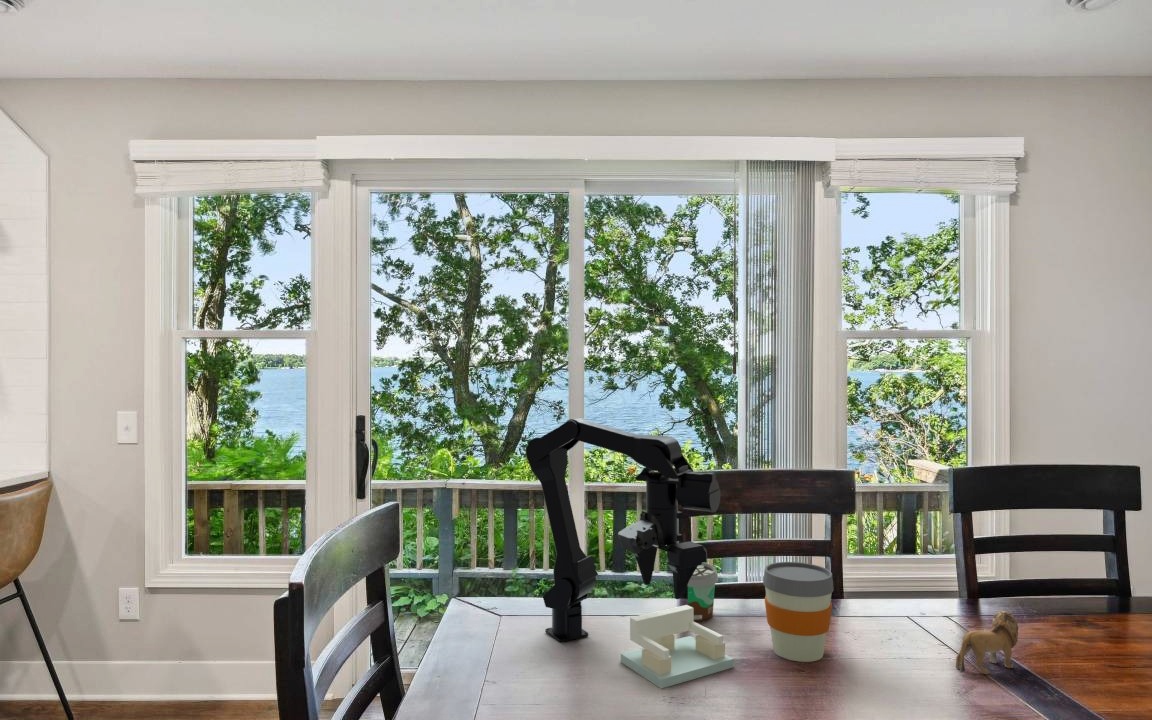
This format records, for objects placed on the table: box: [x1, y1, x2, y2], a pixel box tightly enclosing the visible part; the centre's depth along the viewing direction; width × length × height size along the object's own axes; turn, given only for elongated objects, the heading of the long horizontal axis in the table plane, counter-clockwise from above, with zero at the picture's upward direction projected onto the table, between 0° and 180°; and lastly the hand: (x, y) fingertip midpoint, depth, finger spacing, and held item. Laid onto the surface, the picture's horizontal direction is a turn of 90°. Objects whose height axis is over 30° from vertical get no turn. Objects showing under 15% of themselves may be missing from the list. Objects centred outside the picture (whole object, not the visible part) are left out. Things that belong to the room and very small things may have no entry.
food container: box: [687, 562, 719, 624], centre depth 150 cm, size 12×6×10 cm, turn 168°
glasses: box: [629, 604, 724, 660], centre depth 126 cm, size 10×13×4 cm
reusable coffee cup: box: [762, 561, 834, 663], centre depth 132 cm, size 13×12×15 cm
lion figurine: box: [955, 610, 1019, 675], centre depth 125 cm, size 15×5×9 cm, turn 119°
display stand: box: [620, 634, 735, 689], centre depth 126 cm, size 12×16×4 cm
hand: (662, 591), depth 130 cm, fingers open, 9 cm apart
